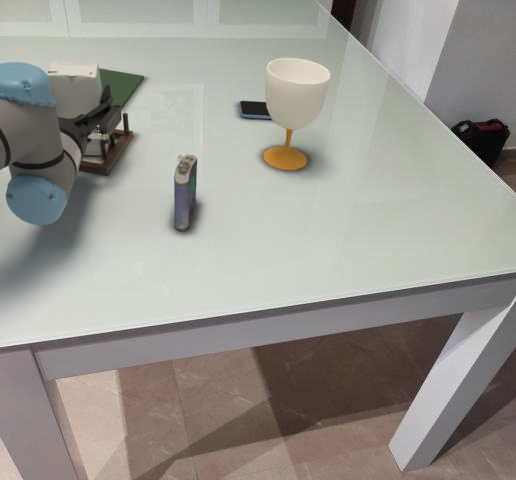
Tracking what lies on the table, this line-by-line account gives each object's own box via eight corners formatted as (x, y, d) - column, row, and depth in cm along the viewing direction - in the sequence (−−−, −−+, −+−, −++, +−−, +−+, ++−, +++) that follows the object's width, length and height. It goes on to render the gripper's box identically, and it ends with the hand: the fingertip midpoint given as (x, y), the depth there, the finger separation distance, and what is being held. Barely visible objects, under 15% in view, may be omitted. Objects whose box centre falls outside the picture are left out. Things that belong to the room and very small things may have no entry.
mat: (39, 96, 111) (38, 93, 110) (70, 66, 123) (70, 63, 122) (120, 110, 111) (120, 107, 110) (144, 78, 123) (143, 75, 122)
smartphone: (238, 99, 118) (302, 103, 120) (238, 103, 119) (301, 107, 121) (241, 114, 113) (307, 117, 116) (241, 118, 114) (306, 121, 116)
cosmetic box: (110, 142, 101) (101, 62, 90) (107, 158, 97) (97, 76, 86) (66, 140, 100) (51, 58, 89) (61, 155, 96) (45, 72, 85)
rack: (107, 175, 93) (104, 150, 89) (34, 163, 93) (27, 137, 90) (133, 135, 104) (131, 111, 100) (67, 124, 104) (63, 99, 100)
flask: (187, 232, 85) (188, 173, 77) (170, 229, 85) (168, 170, 77) (197, 202, 91) (199, 144, 83) (181, 199, 91) (181, 141, 83)
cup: (287, 180, 99) (302, 89, 86) (244, 155, 103) (252, 65, 91) (325, 162, 105) (344, 75, 92) (283, 139, 110) (295, 53, 97)
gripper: (-7, 168, 82) (29, 105, 97) (128, 178, 84) (142, 115, 99) (-21, 121, 76) (20, 63, 91) (124, 133, 78) (140, 74, 93)
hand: (83, 90), depth 95 cm, fingers closed on cosmetic box, 8 cm apart
